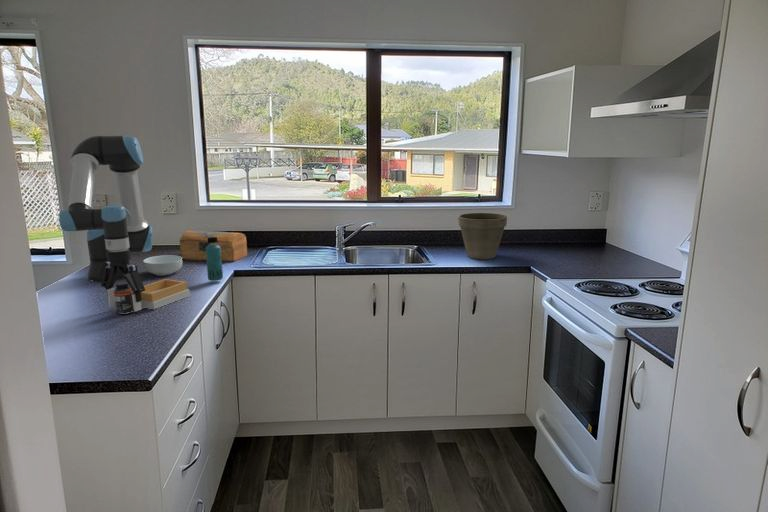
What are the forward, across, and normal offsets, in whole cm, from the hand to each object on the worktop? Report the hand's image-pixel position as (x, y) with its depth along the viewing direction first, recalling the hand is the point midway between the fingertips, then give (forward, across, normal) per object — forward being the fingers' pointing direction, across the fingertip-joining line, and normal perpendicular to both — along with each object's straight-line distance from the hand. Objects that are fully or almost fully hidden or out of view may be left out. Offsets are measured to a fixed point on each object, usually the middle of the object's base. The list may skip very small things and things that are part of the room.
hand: (125, 308), depth 187 cm
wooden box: (+2, -29, +80) cm, 85 cm away
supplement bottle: (+2, 0, 0) cm, 2 cm away
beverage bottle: (+2, +3, +44) cm, 44 cm away
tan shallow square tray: (+2, -2, +15) cm, 15 cm away
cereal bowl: (+2, -29, +46) cm, 54 cm away
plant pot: (+2, +98, +137) cm, 168 cm away
